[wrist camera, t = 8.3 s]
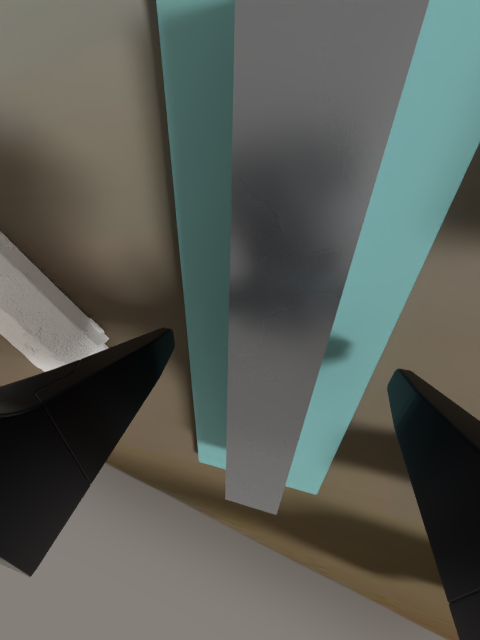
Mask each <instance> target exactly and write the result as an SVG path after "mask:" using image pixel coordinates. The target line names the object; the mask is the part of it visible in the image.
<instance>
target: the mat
mask: <svg viewBox="0 0 480 640" xmlns="http://www.w3.org/2000/svg"><path fill="white" fill-rule="evenodd" d="M156 3H157V14H158V25H159V36H160V46H161V57H162V68H163V79H164V89H165V100H166V111H167V122H168V132H169V143H170V154H171V165H172V175H173V186H174V197H175V208H176V218H177V229H178V240H179V251H180V261H181V272H182V283H183V294H184V304H185V315H186V326H187V337H188V348H189V358H190V369H191V380H192V391H193V401H194V412H195V423H196V434H197V444H198V455H199V462H202V463H205V464H209V465H212V466H216V467H219V468H223V469H226V438H227V387H228V335H229V284H230V232H231V181H232V130H233V78H234V27H235V0H156ZM479 143H480V0H429V4H428V7H427V10H426V14H425V17H424V21H423V24H422V27H421V31H420V34H419V37H418V41H417V44H416V47H415V51H414V54H413V58H412V61H411V64H410V68H409V71H408V74H407V78H406V81H405V84H404V88H403V91H402V95H401V98H400V101H399V105H398V108H397V111H396V115H395V118H394V121H393V125H392V128H391V132H390V135H389V138H388V142H387V145H386V148H385V152H384V155H383V158H382V162H381V165H380V169H379V172H378V175H377V179H376V182H375V185H374V189H373V192H372V195H371V199H370V202H369V206H368V209H367V212H366V216H365V219H364V222H363V226H362V229H361V232H360V236H359V239H358V243H357V246H356V249H355V253H354V256H353V259H352V263H351V266H350V269H349V273H348V276H347V280H346V283H345V286H344V290H343V293H342V296H341V300H340V303H339V306H338V310H337V313H336V317H335V320H334V323H333V327H332V330H331V333H330V337H329V340H328V343H327V347H326V350H325V354H324V357H323V360H322V364H321V367H320V370H319V374H318V377H317V380H316V384H315V387H314V391H313V394H312V397H311V401H310V404H309V407H308V411H307V414H306V417H305V421H304V424H303V428H302V431H301V434H300V438H299V441H298V444H297V448H296V451H295V454H294V458H293V461H292V465H291V468H290V471H289V475H288V478H287V481H286V485H285V486H287V487H290V488H294V489H297V490H301V491H304V492H308V493H312V494H315V495H317V493H318V490H319V488H320V486H321V484H322V482H323V480H324V477H325V475H326V473H327V471H328V469H329V467H330V464H331V462H332V460H333V458H334V456H335V454H336V452H337V449H338V447H339V445H340V443H341V441H342V439H343V436H344V434H345V432H346V430H347V428H348V426H349V423H350V421H351V419H352V417H353V415H354V413H355V410H356V408H357V406H358V404H359V402H360V400H361V398H362V395H363V393H364V391H365V389H366V387H367V385H368V382H369V380H370V378H371V376H372V374H373V372H374V369H375V367H376V365H377V363H378V361H379V359H380V356H381V354H382V352H383V350H384V348H385V346H386V344H387V341H388V339H389V337H390V335H391V333H392V331H393V328H394V326H395V324H396V322H397V320H398V318H399V315H400V313H401V311H402V309H403V307H404V305H405V302H406V300H407V298H408V296H409V294H410V292H411V290H412V287H413V285H414V283H415V281H416V279H417V277H418V274H419V272H420V270H421V268H422V266H423V264H424V261H425V259H426V257H427V255H428V253H429V251H430V248H431V246H432V244H433V242H434V240H435V238H436V236H437V233H438V231H439V229H440V227H441V225H442V223H443V220H444V218H445V216H446V214H447V212H448V210H449V207H450V205H451V203H452V201H453V199H454V197H455V194H456V192H457V190H458V188H459V186H460V184H461V182H462V179H463V177H464V175H465V173H466V171H467V169H468V166H469V164H470V162H471V160H472V158H473V156H474V153H475V151H476V149H477V147H478V145H479Z"/></svg>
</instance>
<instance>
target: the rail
mask: <svg viewBox="0 0 480 640" xmlns="http://www.w3.org/2000/svg"><path fill="white" fill-rule="evenodd" d="M428 4H429V0H235V27H234V78H233V130H232V181H231V232H230V284H229V335H228V387H227V438H226V489H225V499H226V500H229V501H232V502H235V503H239V504H242V505H245V506H249V507H252V508H255V509H258V510H262V511H265V512H268V513H271V514H275V515H277V512H278V508H279V505H280V502H281V498H282V495H283V491H284V488H285V485H286V481H287V478H288V475H289V471H290V468H291V465H292V461H293V458H294V454H295V451H296V448H297V444H298V441H299V438H300V434H301V431H302V428H303V424H304V421H305V417H306V414H307V411H308V407H309V404H310V401H311V397H312V394H313V391H314V387H315V384H316V380H317V377H318V374H319V370H320V367H321V364H322V360H323V357H324V354H325V350H326V347H327V343H328V340H329V337H330V333H331V330H332V327H333V323H334V320H335V317H336V313H337V310H338V306H339V303H340V300H341V296H342V293H343V290H344V286H345V283H346V280H347V276H348V273H349V269H350V266H351V263H352V259H353V256H354V253H355V249H356V246H357V243H358V239H359V236H360V232H361V229H362V226H363V222H364V219H365V216H366V212H367V209H368V206H369V202H370V199H371V195H372V192H373V189H374V185H375V182H376V179H377V175H378V172H379V169H380V165H381V162H382V158H383V155H384V152H385V148H386V145H387V142H388V138H389V135H390V132H391V128H392V125H393V121H394V118H395V115H396V111H397V108H398V105H399V101H400V98H401V95H402V91H403V88H404V84H405V81H406V78H407V74H408V71H409V68H410V64H411V61H412V58H413V54H414V51H415V47H416V44H417V41H418V37H419V34H420V31H421V27H422V24H423V21H424V17H425V14H426V10H427V7H428Z"/></svg>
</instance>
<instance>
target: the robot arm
mask: <svg viewBox="0 0 480 640" xmlns="http://www.w3.org/2000/svg"><path fill="white" fill-rule="evenodd" d="M174 347H175V343H174V335H173V331H172V329H169V328H161V329H158V330H155V331H153V332H150V333H147V334H145V335H142V336H140V337H137V338H134V339H132V340H129V341H127V342H124V343H121V344H119V345H116V346H113V347H111V348H108V349H106V350H103V351H100V352H98V353H95V354H92V355H90V356H87V357H85V358H82V359H81V360H77V361H74V362H71V363H69V364H66V365H63V366H61V367H58V368H55V369H52V370H50V371H47V372H44V373H41V374H38V375H35V376H32V377H29V378H26V379H23V380H19V381H16V382H13V383H10V384H7V385H4V386H1V387H0V564H2V565H4V566H6V567H8V568H11V569H13V570H15V571H18V572H20V573H22V574H24V575H27V576H29V577H31V576H32V574H33V573H34V572H35V570H36V569H37V567H38V566H39V565H40V563H41V561H42V560H43V558H44V557H45V555H46V553H47V552H48V550H49V549H50V547H51V546H52V544H53V543H54V541H55V539H56V538H57V536H58V535H59V533H60V532H61V530H62V529H63V527H64V526H65V524H66V523H67V521H68V519H69V518H70V516H71V515H72V513H73V512H74V510H75V508H76V507H77V505H78V504H79V502H80V501H81V499H82V498H83V496H84V495H85V493H86V492H87V490H88V488H89V487H90V484H91V483H92V482H93V480H94V479H95V477H96V475H97V474H98V473H99V471H100V470H101V468H102V466H103V465H104V463H105V462H106V460H107V459H108V457H109V456H110V454H111V452H112V451H113V449H114V448H115V446H116V445H117V443H118V442H119V440H120V438H121V437H122V435H123V434H124V432H125V431H126V429H127V428H128V426H129V424H130V423H131V421H132V420H133V418H134V417H135V415H136V414H137V412H138V411H139V409H140V407H141V406H142V404H143V403H144V401H145V400H146V398H147V397H148V395H149V393H150V392H151V390H152V389H153V387H154V386H155V384H156V383H157V381H158V379H159V378H160V376H161V374H162V372H163V370H164V368H165V366H166V364H167V362H168V360H169V358H170V356H171V354H172V352H173V350H174ZM387 391H388V396H389V402H390V407H391V413H392V418H393V423H394V428H395V432H396V435H397V439H398V442H399V445H400V448H401V451H402V455H403V458H404V461H405V464H406V468H407V471H408V474H409V477H410V481H411V484H412V487H413V490H414V493H415V497H416V500H417V503H418V506H419V510H420V513H421V516H422V519H423V523H424V526H425V529H426V532H427V535H428V539H429V542H430V545H431V548H432V552H433V555H434V558H435V561H436V565H437V568H438V571H439V574H440V577H441V581H442V584H443V587H444V590H445V594H446V597H447V600H448V602H449V603H450V604H449V607H450V611H451V614H452V617H453V620H454V624H455V627H456V630H457V633H458V636H459V640H480V421H479V420H478V419H476V418H475V417H473V416H472V415H471V414H469V413H468V412H467V411H465V410H464V409H462V408H461V407H460V406H458V405H457V404H456V403H454V402H453V401H451V400H450V399H449V398H447V397H446V396H445V395H443V394H442V393H441V392H439V391H438V390H436V389H435V388H434V387H432V386H431V385H430V384H428V383H427V382H425V381H424V380H423V379H421V378H420V377H419V376H417V375H416V374H414V373H413V372H412V371H410V370H404V369H397V370H395V372H394V374H393V376H392V378H391V380H390V381H389V383H388V387H387Z"/></svg>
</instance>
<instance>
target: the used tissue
mask: <svg viewBox="0 0 480 640" xmlns="http://www.w3.org/2000/svg"><path fill="white" fill-rule="evenodd" d="M104 333H105V331H104V330H103V329H102V328H100V327H99V325H98V324H97V323H95V321H93V320H92V319H91V318H88V317H87V316H86V315H85V314H84V313H83V312H82V311H81V310H80V309H79V308H78V307H77V306H76V305H75V304H74V303H73V302H72V301H71V300H70V299H69V298H68V297H67V296H65V295H64V294H63V293H62V292H61V291H60V290H59V289H58V288H57V287H56V286H55V285H54V284H53V283H52V282H51V281H50V280H49V279H48V278H47V277H46V276H45V275H44V274H43V273H42V272H41V271H40V270H39V269H38V268H37V267H36V266H35V265H34V264H33V263H32V262H31V261H30V260H29V259H28V258H27V257H26V256H25V255H24V254H23V253H22V252H21V251H19V250H18V248H17V247H16V246H15V245H13V244H12V243H11V242H10V241H9V239H8V238H7V237H6V236H5V235H4V234H3V233H2V232H1V231H0V334H1V335H2V336H3V337H5V338H6V339H7V341H9V342H10V343H11V344H12V345H13V346H14V347H16V348H17V349H18V350H19V351H20V352H21V353H23V354H24V355H25V356H26V357H27V359H28V360H30V362H32V363H33V364H34V365H35V366H36V367H38V368H41V369H42V370H43V371H44V372H47V371H50V370H52V369H55V368H58V367H61V366H63V365H66V364H69V363H71V362H74V361H77V360H81V359H82V358H85V357H87V356H90V355H92V354H95V353H98V352H100V351H103V350H106V349H108V347H107V346H106V345H105V344H104V343H105V342H107V340H109V338H108V337H107V336H106V335H105V334H104Z"/></svg>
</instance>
